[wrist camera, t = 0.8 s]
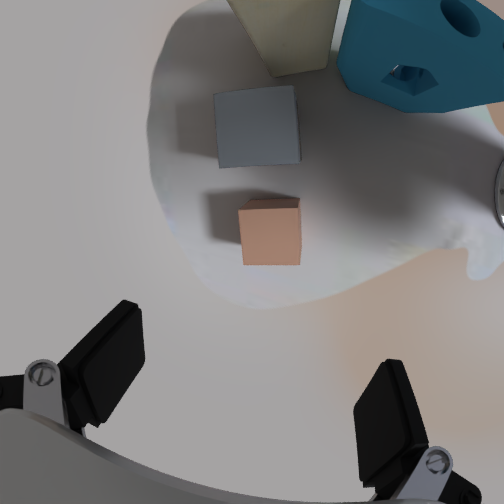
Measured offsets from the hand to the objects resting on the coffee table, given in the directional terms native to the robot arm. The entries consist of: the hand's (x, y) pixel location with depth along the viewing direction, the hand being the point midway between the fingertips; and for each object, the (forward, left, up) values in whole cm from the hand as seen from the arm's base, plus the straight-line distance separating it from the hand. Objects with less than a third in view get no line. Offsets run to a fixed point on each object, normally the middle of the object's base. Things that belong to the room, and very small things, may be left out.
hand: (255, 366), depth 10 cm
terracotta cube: (+2, +1, -26) cm, 26 cm away
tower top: (+2, -10, -21) cm, 23 cm away
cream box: (-2, -21, -26) cm, 33 cm away
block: (-12, -16, -26) cm, 32 cm away
